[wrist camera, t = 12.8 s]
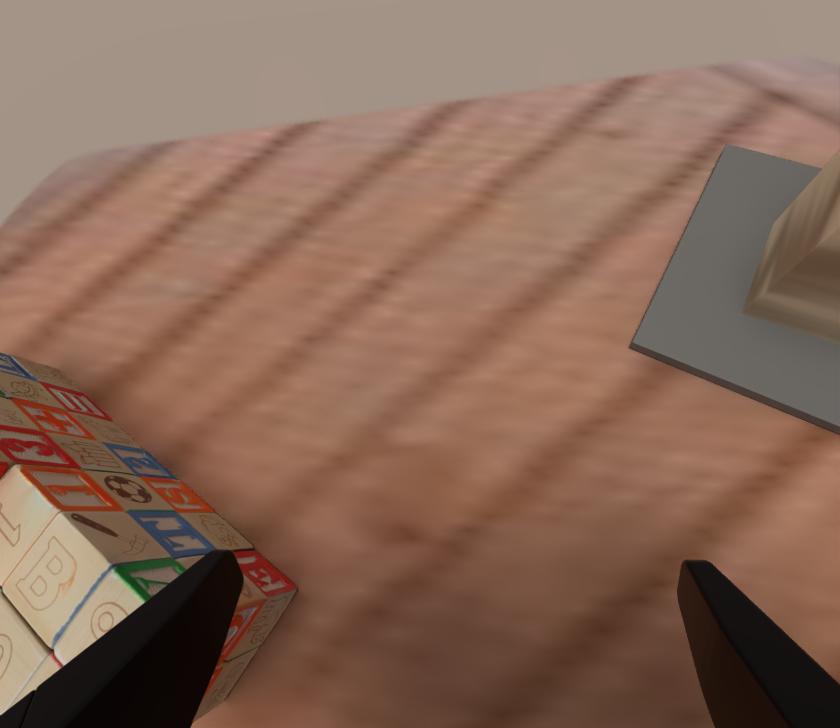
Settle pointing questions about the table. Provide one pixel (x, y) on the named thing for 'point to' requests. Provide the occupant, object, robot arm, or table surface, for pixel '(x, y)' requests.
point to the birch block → (803, 262)
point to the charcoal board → (739, 296)
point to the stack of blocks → (100, 536)
